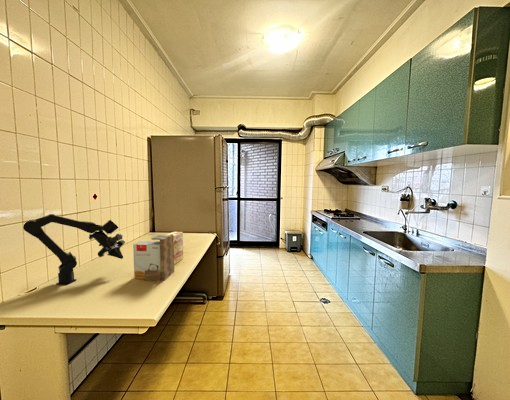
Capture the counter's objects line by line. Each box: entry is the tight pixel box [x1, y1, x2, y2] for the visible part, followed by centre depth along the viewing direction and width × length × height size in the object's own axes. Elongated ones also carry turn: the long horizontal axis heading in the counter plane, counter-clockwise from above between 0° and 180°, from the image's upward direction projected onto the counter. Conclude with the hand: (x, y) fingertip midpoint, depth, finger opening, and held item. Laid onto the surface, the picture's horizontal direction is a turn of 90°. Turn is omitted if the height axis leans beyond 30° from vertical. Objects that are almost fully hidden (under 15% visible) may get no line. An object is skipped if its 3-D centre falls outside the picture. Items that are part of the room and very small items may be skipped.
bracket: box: [144, 234, 175, 282], centre depth 140 cm, size 14×11×23 cm
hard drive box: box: [132, 240, 161, 280], centre depth 139 cm, size 16×8×20 cm, turn 89°
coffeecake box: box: [166, 231, 184, 265], centre depth 165 cm, size 15×7×20 cm, turn 168°
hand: (122, 258), depth 142 cm, fingers closed
